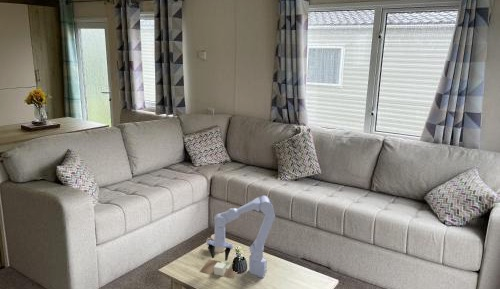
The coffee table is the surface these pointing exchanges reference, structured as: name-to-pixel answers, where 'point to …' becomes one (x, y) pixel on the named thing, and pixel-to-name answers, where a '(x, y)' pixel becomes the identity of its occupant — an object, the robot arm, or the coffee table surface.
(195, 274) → the coffee table surface
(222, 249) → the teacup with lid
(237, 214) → the robot arm
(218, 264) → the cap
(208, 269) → the board
